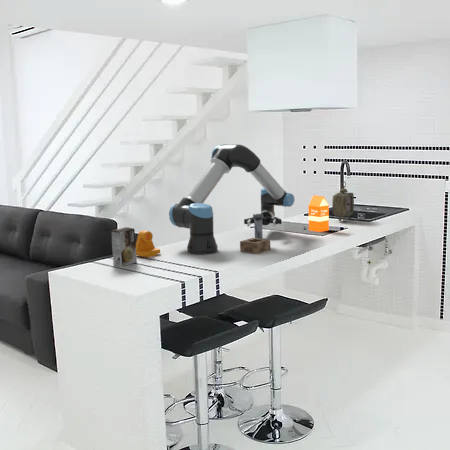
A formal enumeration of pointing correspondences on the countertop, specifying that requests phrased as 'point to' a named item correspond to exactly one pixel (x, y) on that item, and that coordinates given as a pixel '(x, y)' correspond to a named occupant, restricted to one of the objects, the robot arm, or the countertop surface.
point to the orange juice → (318, 214)
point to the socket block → (255, 245)
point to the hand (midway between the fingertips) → (260, 224)
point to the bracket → (145, 245)
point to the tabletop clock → (343, 203)
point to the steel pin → (258, 225)
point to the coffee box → (123, 246)
